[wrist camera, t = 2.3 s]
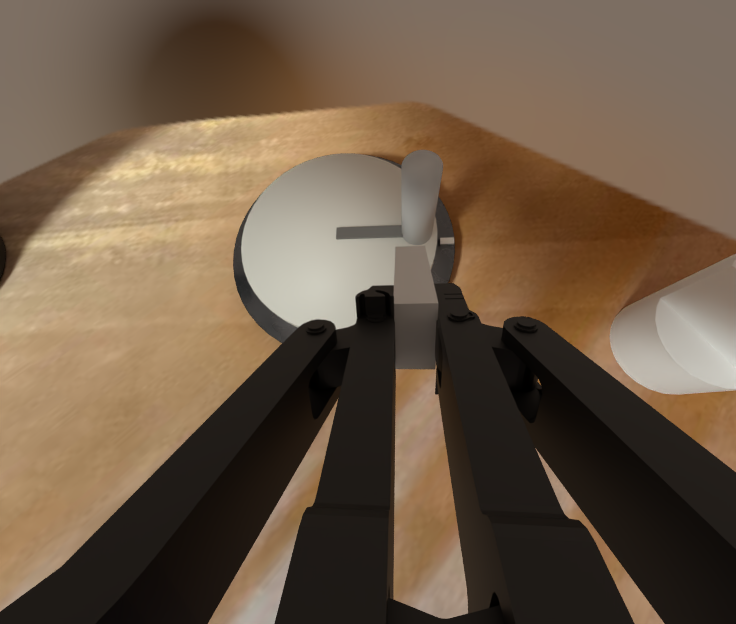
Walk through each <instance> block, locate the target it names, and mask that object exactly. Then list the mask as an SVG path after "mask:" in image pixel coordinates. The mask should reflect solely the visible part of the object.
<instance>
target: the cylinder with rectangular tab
mask: <svg viewBox="0 0 736 624" xmlns="http://www.w3.org/2000/svg"><path fill="white" fill-rule="evenodd" d="M610 343H611V349H612V352H613V354H614V356H615V358H616V361H617V362H618V364H619V365H620V366H621V368H622V369H623V370H624V372H625V373H626V374H628V375H629V376H630V377H631V378H632V379H633V380H635V381H636V382H637V383H639V384H641V385H643V386H644V387H646V388H648V389H650V390H654V391H657V392H660V393H664V394H691V393H705V392H718V391H732V390H736V254H734V255H732V256H730V257H728V258H725V259H723V260H721V261H719V262H717V263H715V264H713V265H711V266H709V267H707V268H705V269H703V270H701V271H698V272H696V273H694V274H692V275H690V276H688V277H686V278H684V279H682V280H680V281H678V282H676V283H674V284H672V285H669V286H667V287H665V288H663V289H661V290H659V291H657V292H655V293H653V294H651V295H649V296H647V297H645V298H643V299H640V300H638V301H636V302H634V303H632V304H630V305H628V306H627V307H625V308H623V309H622V310H621V311H620V312H619V313H618V314H617V315H616V317H615V319H614V321H613V323H612V325H611V331H610Z"/></svg>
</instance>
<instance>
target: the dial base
mask: <svg viewBox="0 0 736 624" xmlns="http://www.w3.org/2000/svg"><path fill="white" fill-rule="evenodd" d="M368 156H370V155H368ZM372 157H375V156H372ZM376 158H379V159H382V160H385V161H387V162H390V163H392V164H394V165H396V166H397V167H399V168H400V169H401V166H402V165H400V164H398V163H395V162H393V161H390V160H387V159H384V158H380V157H376ZM259 197H260V196H259ZM259 197H258V198H259ZM258 198H257V200H258ZM257 200H256V201H257ZM256 201H255V202H254V203H253V205H252V206H251V208H250V209H249V211H248V213H247V214H246V216H245V218H244V220H243V222H242V224H241V226H240V229H239V232H238V235H237V238H236V243H235V248H234V260H233V267H234V278H235V282H236V286H237V290H238V293H239V295H240V298H241V300H242V302H243V304H244V306H245V308H246V309H247V311H248V313H249V314H250V315H251V317H252V318H253V319H254V320H255V321H256V323H257V324H258V325H259V326H260V327H261V328H262V329H263V330H265V331H266V332H267V333H268V334H269V335H271V336H272V337H274V338H275V339H277V340H278V341H280V342H281V343H283V342H284V341H285V340H286V339H287V338H288V337H289V336H290V335H291V334H292V333H293V332H294V331H295V330H296V329H297V327H295V326H293V325H291V324H289V323H287V322H286V321H284V320H283V319H282V318H280V317H279V316H277V315H276V314H275V313H274V312H272V311H271V310H270V309H269V308H268V307H267V306H266V305H265V304H264V303H263V302H261V300H260V299H259V298H258V296H257V295H256V294H255V293H254V291H253V289H252V287H251V286H250V284H249V282H248V280H247V277H246V274H245V272H244V267H243V263H242V254H241V245H242V235H243V231H244V226H245V223H246V221H247V218H248V215H249V213H250V211H251V209H252V207H253V206H254V204H255V203H256ZM435 218H436V224H437V246H436V252H435V257H434V262H433V266H432V269H431V274H432V278H433V282H434V284H440V283H448V282H449V279H450V275H451V272H452V268H453V263H454V254H455V242H454V233H453V228H452V224H451V221H450V218H449V215H448V212H447V210H446V208H445V206H444V204H443V202H442V201H441V199H440V198H439V196H438V201H437V207H436V213H435Z"/></svg>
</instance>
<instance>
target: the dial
mask: <svg viewBox="0 0 736 624" xmlns="http://www.w3.org/2000/svg"><path fill="white" fill-rule="evenodd" d="M442 171H443V163H442V160H441V158H440V157H439V156H438V155H437V154H436V153H434V152H432V151H429V150H417V151H414V152H412V153H410V154H409V155H407V156H406V157H405V159H404V160H403V162H402V166H401V169H400V168H399V167H397V166H396V165H394V164H392V163H390V162H387V161H385V160H382V159H379V158H376V157H372V156H368V155H362V154H333V155H327V156H322V157H318V158H315V159H312V160H309V161H306V162H304V163H301V164H299V165H297V166H295V167H293V168H292V169H290V170H288V171H287V172H285V173H284V174H282V175H281V176H280V177H278V178H277V179H276V180H275V181H274V182H272V183H271V184H270V185H269V186H268V187H267V188H266V189H265V191H264V192H263V193H262V194H261V195H260V197H259V198H258V200H257V201H256V203H255V204H254V206H253V207H252V209H251V211H250V213H249V215H248V218H247V221H246V223H245V226H244V231H243V235H242V245H241V254H242V263H243V267H244V272H245V274H246V277H247V280H248V282H249V284H250V286H251V287H252V289H253V291H254V293H255V294H256V295H257V296H258V298H259V299H260V300H261V302H263V303H264V304H265V305H266V306H267V307H268V308H269V309H270V310H271V311H272V312H274V313H275V314H276V315H277V316H279V317H280V318H282V319H283V320H284V321H286V322H287V323H289V324H291V325H293V326H295V327H297V328H298V327H299V326H301V325H302V324H303V323H306V322H308V321H311V320H315V319H320V320H328V321H331V322H332V323H334V324H335V327H336V329H342V328H346V327H350V326H352V325H354V324H356V320H357V313H356V301H355V296H356V295H357V294H358V293H360V292H361V291H364V290H368V289H369V288H370V287H371V286H378V285H394V270H395V247H398V246H425V248H426V252H427V256H428V261H429V265H430V269H432V266H433V262H434V257H435V252H436V246H437V224H436V218H435V213H436V207H437V201H438V195H439V189H440V183H441V177H442Z"/></svg>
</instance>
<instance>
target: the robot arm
mask: <svg viewBox="0 0 736 624" xmlns="http://www.w3.org/2000/svg"><path fill="white" fill-rule="evenodd" d="M4 265H5V246H4V243H3V240H2V238H1V237H0V278H1V275H2V272H3V269H4ZM355 301H356V313H357V320H356V324H354V325H352V326H350V327H346V328H342V329H336V327H335V324H334V323H332V322H331V321H328V320H320V319H315V320H311V321H308V322H306V323H303V324H302V325H301V326H299V327H298V328H297V329H296V330H295V331H294V332H293V333H292V334H291V335H290V336H289V337H288V338H287V339H286V340H285V341H284V342H283V343H282V344H281V345H280V346H279V347H278V348H277V349H276V350H275V351H274V352H273V353H272V354H271V355H270V356H269V357H268V358H267V359H266V360H265V362H264V363H263V364H262V365H261V366H260V367H259V368H258V369H257V370H256V371H255V372H254V373H253V374H252V375H251V376H250V377H249V378H248V379H247V380H246V381H245V382H244V383H243V384H242V385H241V386H240V387H239V388H238V389H237V390H236V391H235V392H234V393H233V394H232V395H231V396H230V397H229V398H228V399H227V400H226V401H225V402H224V403H223V404H222V405H221V406H220V407H219V408H218V409H217V410H216V411H215V412H214V413H213V414H212V415H211V416H210V417H209V418H208V419H207V420H206V421H205V422H204V423H203V424H202V425H201V426H200V427H199V428H198V429H197V430H196V431H195V432H194V433H193V434H192V435H191V436H190V437H189V438H188V439H187V440H186V441H185V442H184V443H183V444H182V445H181V446H180V447H179V448H178V449H177V450H176V451H175V452H174V453H173V454H172V455H171V457H170V458H169V459H168V460H167V461H166V462H165V463H164V464H163V465H162V466H161V467H160V468H159V469H158V470H157V471H156V472H155V473H154V474H153V475H152V476H151V477H150V478H149V479H148V480H147V481H146V482H145V483H144V484H143V485H142V486H141V487H140V488H139V489H138V490H137V491H136V492H135V493H134V494H133V495H132V496H131V497H130V498H129V499H128V500H127V501H126V502H125V503H124V504H123V505H122V506H121V507H120V508H119V509H118V510H117V511H116V512H115V513H114V514H113V515H112V516H111V517H110V518H109V519H108V520H107V521H106V522H105V523H104V524H103V525H102V526H101V527H100V528H99V529H98V530H97V531H96V532H95V533H94V534H93V535H92V536H91V537H90V538H89V539H88V540H87V541H86V542H85V543H84V544H83V545H82V546H81V547H80V548H79V549H78V550H77V552H76V553H75V554H74V555H73V556H72V557H71V558H70V559H69V560H68V561H67V562H66V563H65V564H64V565H63V566H62V567H60V568H59V569H58V570H56V571H55V572H54V573H52V574H51V575H50V576H48V577H47V578H45V579H44V580H43V581H41V582H40V583H39V584H37V585H36V586H35V587H33V588H32V589H30V590H29V591H28V592H26V593H25V594H24V595H22V596H21V597H20V598H18V599H17V600H16V601H14V602H13V603H11V604H10V605H9V606H7V607H6V608H5V609H3V610H2V611H1V612H0V624H208V622H209V620H210V619H211V617H212V615H213V613H214V612H215V610H216V608H217V606H218V605H219V603H220V601H221V600H222V598H223V596H224V594H225V593H226V591H227V589H228V587H229V586H230V584H231V582H232V581H233V579H234V577H235V575H236V574H237V572H238V570H239V568H240V567H241V565H242V563H243V562H244V560H245V558H246V556H247V555H248V553H249V551H250V549H251V548H252V546H253V544H254V543H255V541H256V539H257V537H258V536H259V534H260V532H261V530H262V529H263V527H264V525H265V524H266V522H267V520H268V518H269V517H270V515H271V513H272V511H273V510H274V508H275V506H276V505H277V503H278V501H279V499H280V498H281V496H282V494H283V492H284V491H285V489H286V487H287V486H288V484H289V482H290V480H291V479H292V477H293V475H294V473H295V472H296V470H297V468H298V467H299V465H300V463H301V461H302V460H303V458H304V456H305V455H306V453H307V451H308V449H309V448H310V446H311V444H312V442H313V441H314V439H315V437H316V436H317V434H318V432H319V430H320V429H321V427H322V425H323V423H324V422H325V420H326V418H327V417H328V415H329V413H330V411H331V410H332V408H333V406H334V404H335V403H336V401H337V399H338V398H339V399H338V403H337V407H336V412H335V416H334V420H333V425H332V429H331V434H330V438H329V442H328V447H327V451H326V456H325V460H324V464H323V469H322V473H321V477H320V482H319V486H318V491H317V495H316V499H315V502H314V504H313V506H312V507H307V508H306V510H305V512H304V514H303V516H302V520H301V523H300V526H299V530H298V534H297V537H296V541H295V545H294V549H293V553H292V557H291V561H290V565H289V569H288V573H287V577H286V581H285V585H284V589H283V593H282V597H281V600H280V604H279V608H278V612H277V616H276V620H275V624H634V622H633V620H632V618H631V616H630V614H629V611H628V609H627V607H626V605H625V603H624V601H623V599H622V597H621V595H620V593H619V591H618V589H617V586H616V584H615V582H614V580H613V578H612V576H611V574H610V572H609V570H608V568H607V566H606V564H605V561H604V559H603V557H602V555H601V553H600V551H599V549H598V547H597V545H596V543H595V541H594V539H593V538H592V536H591V534H590V532H589V531H588V529H587V528H586V527H585V526H584V525H583V524H582V523H581V522H580V521H579V520H574V519H569V518H568V517H567V516H566V515H565V514H564V512H563V510H562V508H561V506H560V504H559V502H558V500H557V497H556V495H555V493H554V490H553V488H552V486H551V483H550V481H549V479H548V476H547V474H546V472H545V469H544V467H543V465H542V462H541V460H540V458H539V456H538V453H537V451H536V449H537V450H538V452H539V453H540V455H541V456H542V457H543V459H544V460H545V461H546V463H547V464H548V465H549V467H550V468H551V469H552V471H553V472H554V474H555V475H556V476H557V478H558V479H559V480H560V482H561V483H562V484H563V486H564V487H565V489H566V490H567V491H568V493H569V494H570V495H571V497H572V498H573V499H574V501H575V502H576V503H577V505H578V506H579V508H580V509H581V510H582V512H583V513H584V514H585V516H586V517H587V518H588V520H589V521H590V523H591V524H592V525H593V527H594V528H595V529H596V531H597V532H598V533H599V535H600V536H601V537H602V539H603V540H604V542H605V543H606V544H607V546H608V547H609V548H610V550H611V551H612V552H613V554H614V555H615V557H616V558H617V559H618V561H619V562H620V563H621V565H622V566H623V567H624V569H625V570H626V571H627V573H628V574H629V576H630V577H631V578H632V580H633V581H634V582H635V584H636V585H637V586H638V588H639V589H640V591H641V592H642V593H643V595H644V596H645V597H646V599H647V600H648V601H649V603H650V604H651V605H652V607H653V608H654V610H655V611H656V612H657V614H658V615H659V616H660V618H661V619H662V620H663V622H664V623H665V624H736V472H735V471H733V470H732V469H731V468H729V467H728V466H727V465H726V464H724V463H723V462H722V461H720V460H719V459H718V458H717V457H715V456H714V455H713V454H711V453H710V452H709V451H708V450H706V449H705V448H704V447H702V446H701V445H700V444H699V443H697V442H696V441H695V440H693V439H692V438H691V437H690V436H688V435H687V434H686V433H684V432H683V431H682V430H681V429H679V428H678V427H677V426H675V425H674V424H673V423H672V422H670V421H669V420H668V419H666V418H665V417H664V416H663V415H661V414H660V413H659V412H657V411H656V410H655V409H654V408H652V407H651V406H650V405H648V404H647V403H646V402H645V401H643V400H642V399H641V398H639V397H638V396H637V395H636V394H634V393H633V392H632V391H630V390H629V389H628V388H627V387H625V386H624V385H623V384H621V383H620V382H619V381H618V380H616V379H615V378H614V377H612V376H611V375H610V374H609V373H607V372H606V371H605V370H603V369H602V368H601V367H600V366H598V365H597V364H596V363H594V362H593V361H592V360H591V359H589V358H588V357H587V356H585V355H584V354H583V353H582V352H580V351H579V350H578V349H576V348H575V347H574V346H573V345H571V344H570V343H569V342H567V341H566V340H565V339H564V338H562V337H561V336H560V335H558V334H557V333H556V332H555V331H553V330H552V329H551V328H549V327H548V326H547V325H546V324H544V323H542V322H540V321H539V320H536V319H532V318H530V317H523V316H521V317H512V318H509V319H507V320H506V321H504V325H503V328H500V327H493V326H488V325H485V324H482V323H481V321H480V319H479V317H478V316H477V314H476V313H474V312H472V311H470V310H469V309H468V306H467V304H466V301H465V299H464V296H463V295H462V291H461V289H460V288H459V287H458V286H457V285H455V284H454V283H440V284H434V282H433V278H432V274H431V269H430V265H429V261H428V256H427V252H426V248H425V246H398V247H395V270H394V285H378V286H371V287H370V288H369V289H368V290H364V291H361V292H360V293H358V294H357V295H356V296H355ZM435 364H436V365H437V368H436V388H435V394H439V401H440V408H441V415H442V422H443V428H444V435H445V442H446V449H447V456H448V462H449V469H450V476H451V483H452V490H453V496H454V503H455V510H456V517H457V523H458V530H459V537H460V544H461V551H462V557H463V564H464V571H465V578H466V585H467V595H468V614H465V615H461V616H457V617H453V618H449V619H441V618H438V617H435V616H433V615H430V614H428V613H425V612H423V611H420V610H418V609H415V608H413V607H410V606H408V605H406V604H403V603H401V602H398V601H396V600H393V569H394V480H395V390H396V371H395V369H435ZM538 379H539V381H540V383H541V385H540V384H539V383H538V382H537V381H538ZM535 448H536V449H535Z"/></svg>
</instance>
